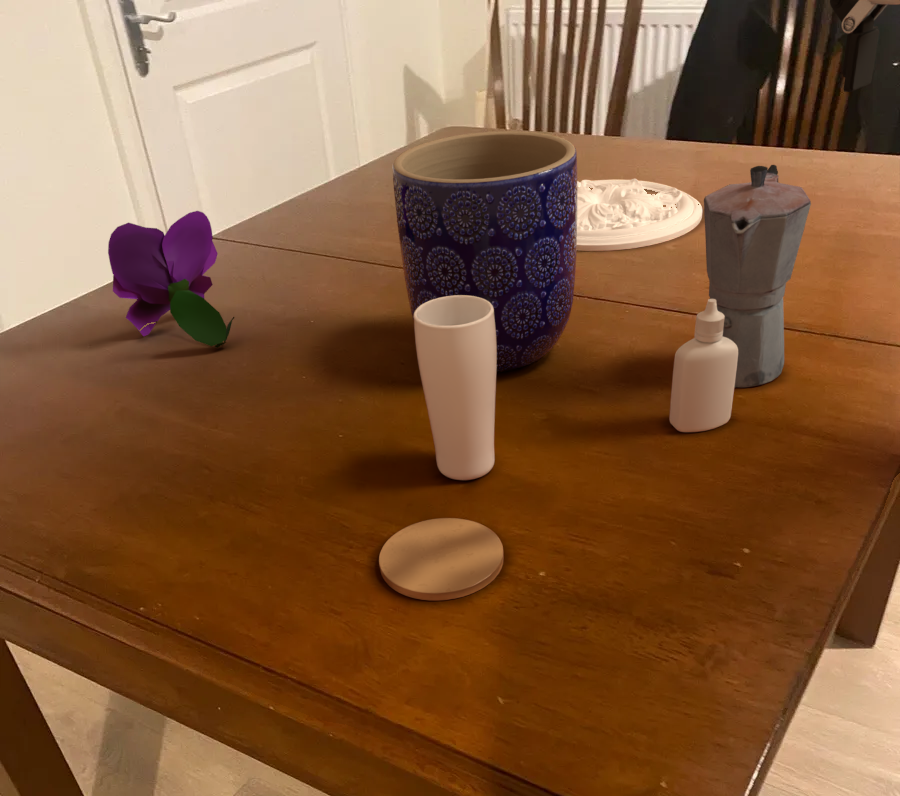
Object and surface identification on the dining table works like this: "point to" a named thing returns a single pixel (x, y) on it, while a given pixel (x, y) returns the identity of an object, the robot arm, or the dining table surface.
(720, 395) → the eye dropper bottle
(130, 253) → the flower
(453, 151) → the planter
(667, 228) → the ceiling medallion
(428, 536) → the cork trivet
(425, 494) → the dining table surface
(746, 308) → the moka pot
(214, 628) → the dining table surface
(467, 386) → the drinking glass
